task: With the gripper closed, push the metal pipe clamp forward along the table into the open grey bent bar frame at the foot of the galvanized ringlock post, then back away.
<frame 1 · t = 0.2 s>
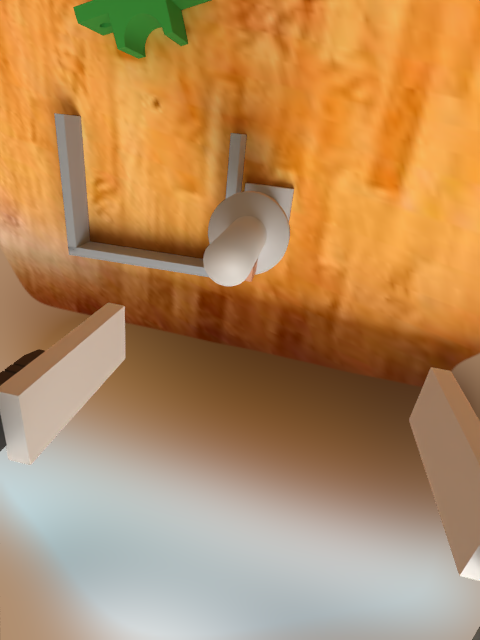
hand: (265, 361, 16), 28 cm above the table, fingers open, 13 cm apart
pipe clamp: (157, 27, 36), on the table
grey bent bar frame: (156, 195, 42), on the table
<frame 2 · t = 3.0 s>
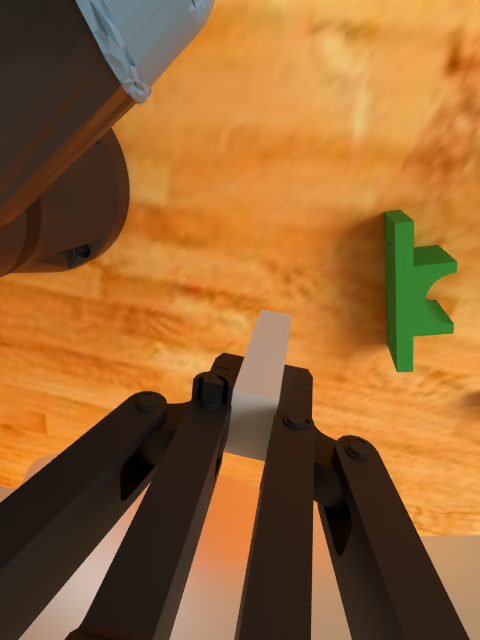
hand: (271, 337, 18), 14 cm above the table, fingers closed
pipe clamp: (408, 280, 30), on the table
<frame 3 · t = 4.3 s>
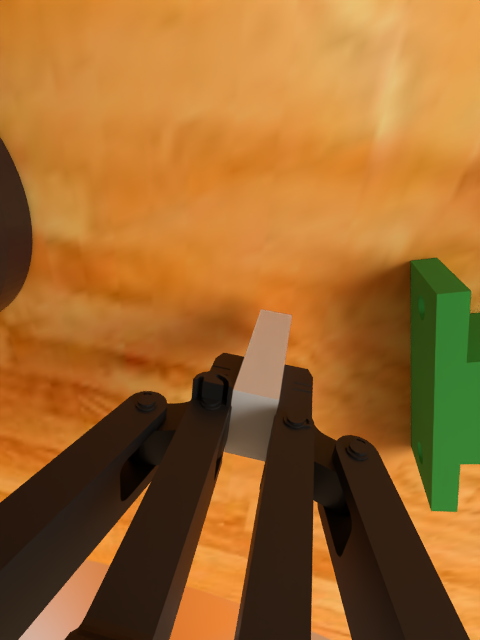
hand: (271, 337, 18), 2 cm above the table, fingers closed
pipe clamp: (445, 359, 20), on the table
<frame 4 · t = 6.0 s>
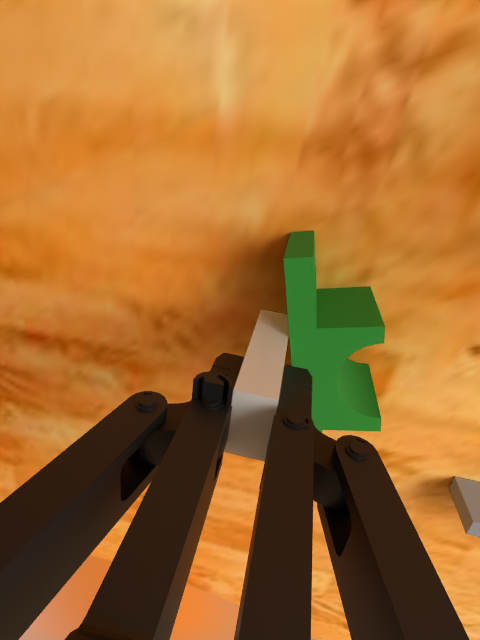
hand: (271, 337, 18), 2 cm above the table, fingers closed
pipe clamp: (330, 334, 20), on the table, touching gripper
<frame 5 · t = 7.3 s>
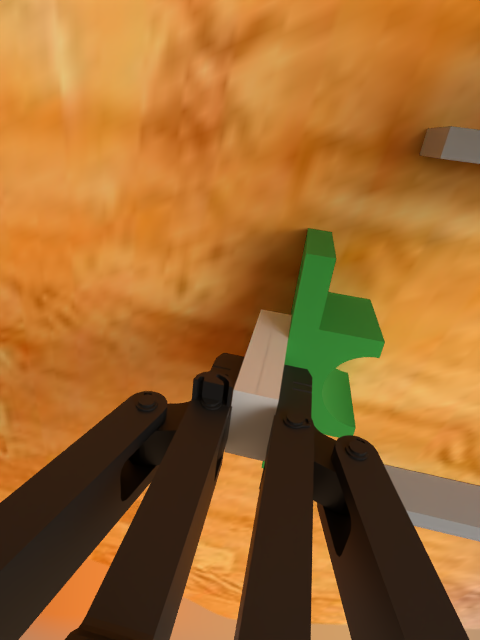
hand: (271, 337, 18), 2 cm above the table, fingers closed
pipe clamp: (318, 336, 20), on the table, touching gripper
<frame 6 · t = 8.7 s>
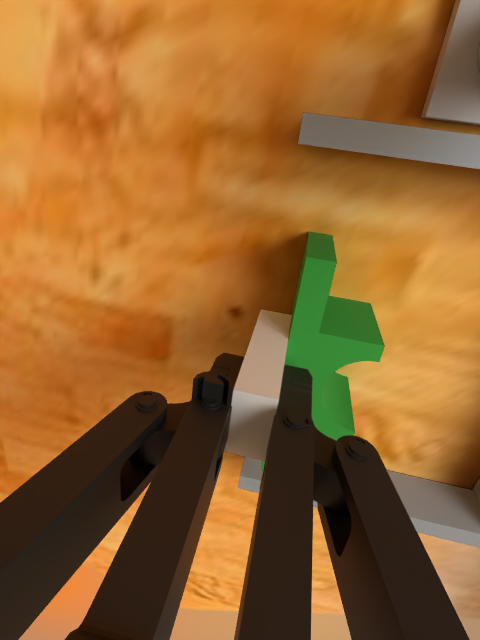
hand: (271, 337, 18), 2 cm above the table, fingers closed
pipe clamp: (318, 339, 20), on the table
grey bent bar frame: (405, 344, 19), on the table
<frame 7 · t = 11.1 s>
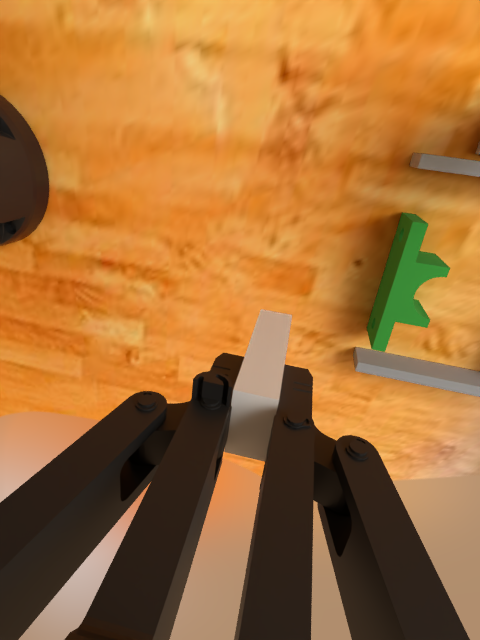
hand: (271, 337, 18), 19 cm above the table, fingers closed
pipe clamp: (401, 277, 35), on the table
grey bent bar frame: (460, 280, 33), on the table
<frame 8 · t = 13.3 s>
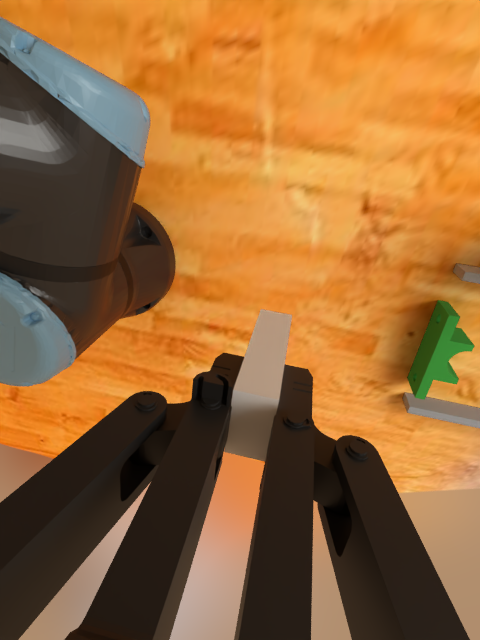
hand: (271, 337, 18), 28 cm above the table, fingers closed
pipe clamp: (435, 343, 47), on the table
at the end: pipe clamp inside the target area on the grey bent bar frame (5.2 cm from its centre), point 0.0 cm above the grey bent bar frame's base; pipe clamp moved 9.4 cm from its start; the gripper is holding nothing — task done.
